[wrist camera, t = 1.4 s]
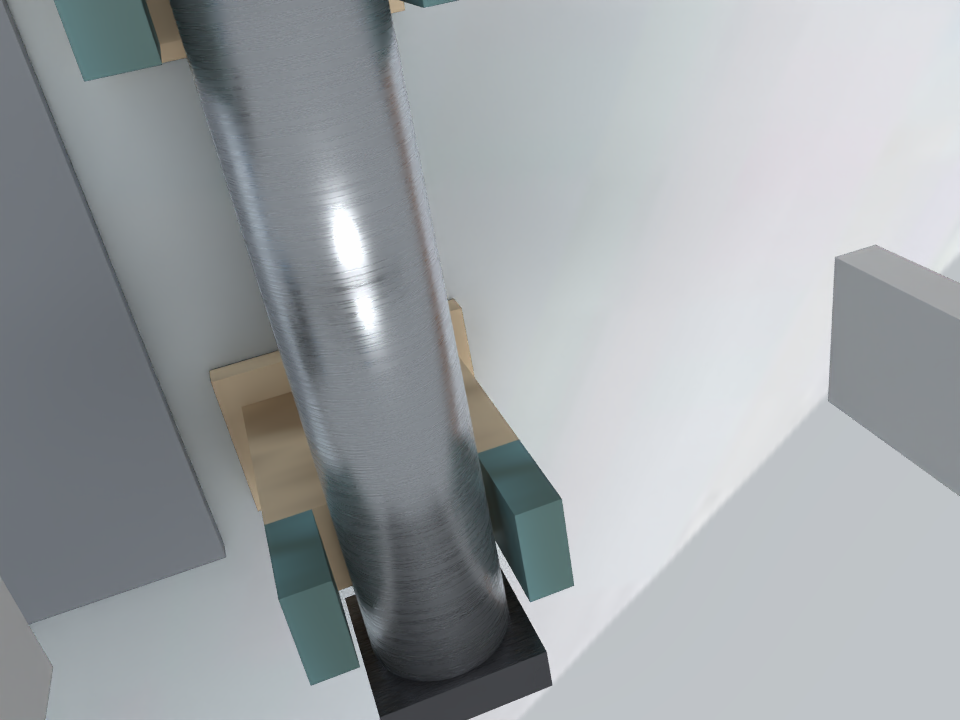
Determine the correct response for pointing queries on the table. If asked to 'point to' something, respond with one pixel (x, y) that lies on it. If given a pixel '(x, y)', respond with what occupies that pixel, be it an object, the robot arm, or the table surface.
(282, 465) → the post far
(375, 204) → the rail
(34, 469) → the pad
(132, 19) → the post near
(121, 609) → the table surface
